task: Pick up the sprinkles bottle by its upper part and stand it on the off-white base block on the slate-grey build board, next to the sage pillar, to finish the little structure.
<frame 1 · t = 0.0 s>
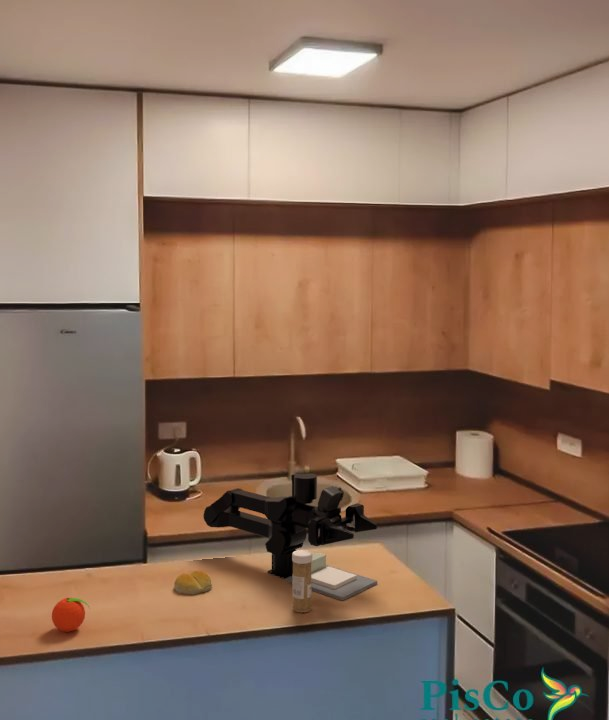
hand: (365, 531, 189), 17 cm above the counter, tool horizontal, fingers open, 9 cm apart
clementine: (71, 630, 174), on the counter
sprinkles bottle: (301, 610, 185), on the counter
build board: (331, 582, 201), on the counter
bread roll: (193, 589, 197), on the counter
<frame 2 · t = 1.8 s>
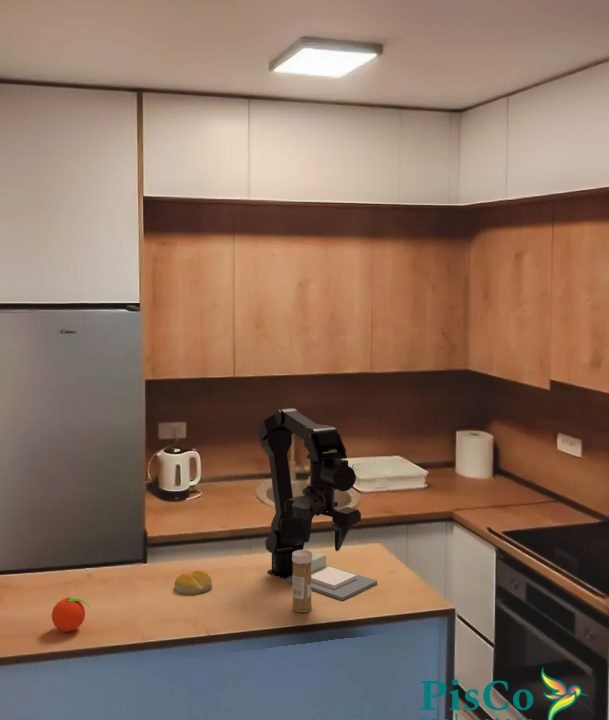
hand: (321, 546, 189), 13 cm above the counter, tool pointing down, fingers open, 9 cm apart
nothing on the counter moved.
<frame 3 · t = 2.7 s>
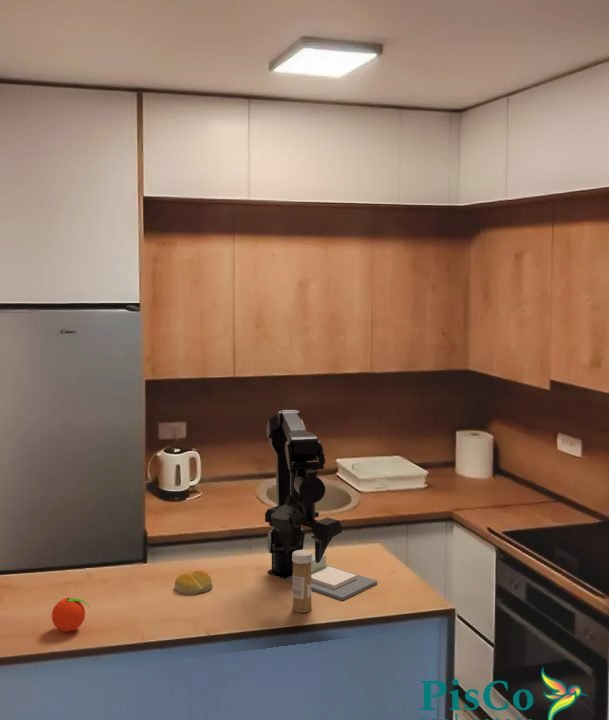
hand: (302, 557, 184), 12 cm above the counter, tool pointing down, fingers open, 9 cm apart
nothing on the counter moved.
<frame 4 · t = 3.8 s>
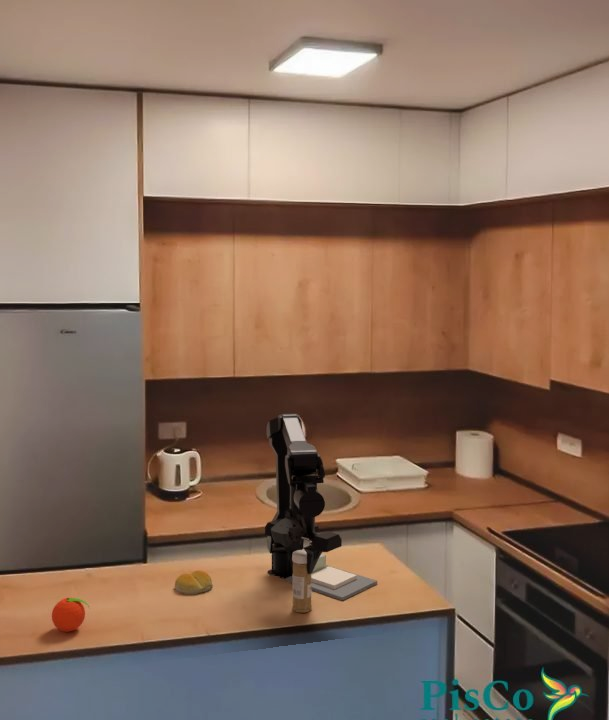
hand: (302, 571, 184), 9 cm above the counter, tool pointing down, fingers closed on sprinkles bottle, 4 cm apart
sprinkles bottle: (301, 610, 185), on the counter, touching gripper
everything else where it was.
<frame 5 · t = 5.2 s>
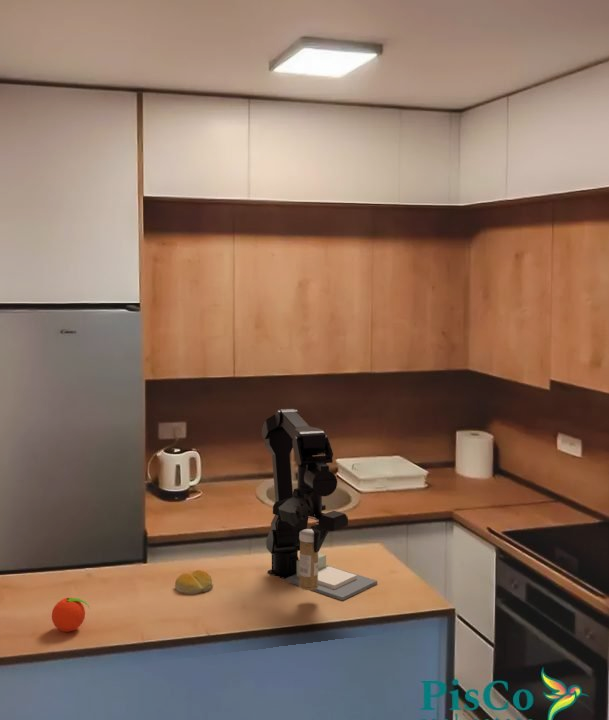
hand: (309, 549, 188), 13 cm above the counter, tool pointing down, fingers closed on sprinkles bottle, 4 cm apart
sprinkles bottle: (308, 587, 189), point 3 cm above the counter, touching gripper
everything else where it was.
when the fingers open (12 cm above the counter, at t = 6.8 s): sprinkles bottle stays where it is, resting on build board.
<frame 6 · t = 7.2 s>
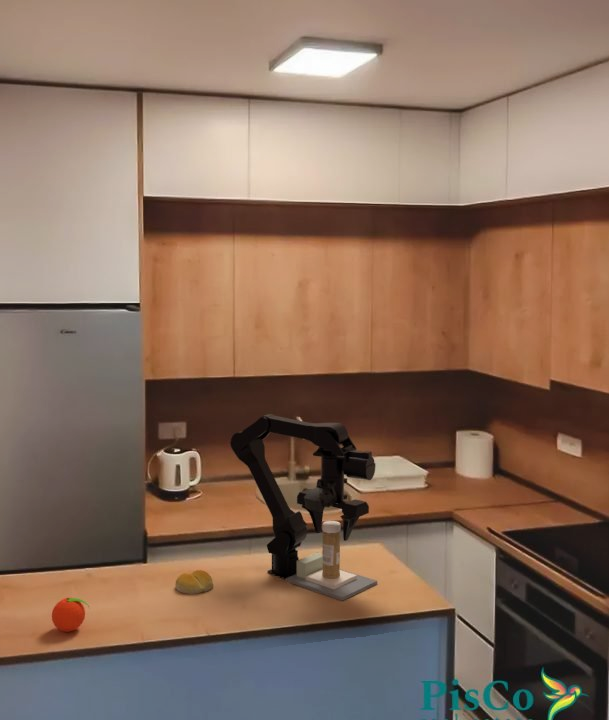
hand: (331, 536, 200), 12 cm above the counter, tool pointing down, fingers open, 8 cm apart
sprinkles bottle: (330, 576, 201), point 2 cm above the counter, touching build board
everything else where it was.
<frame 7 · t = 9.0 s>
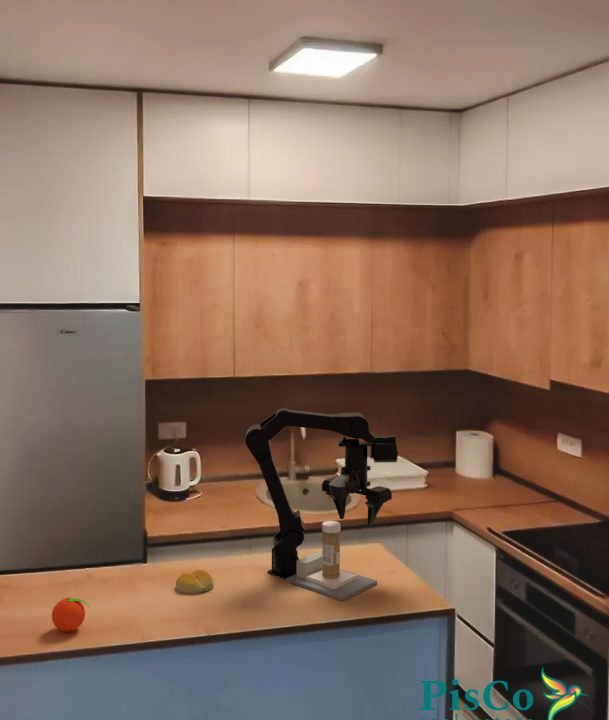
hand: (355, 522, 207), 13 cm above the counter, tool pointing down, fingers open, 9 cm apart
nothing on the counter moved.
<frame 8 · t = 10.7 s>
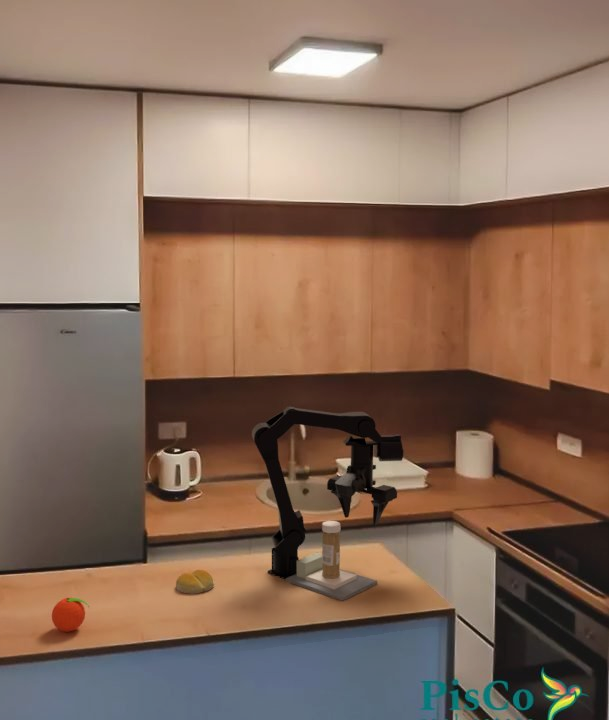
hand: (360, 520, 209), 13 cm above the counter, tool pointing down, fingers open, 9 cm apart
nothing on the counter moved.
at the end: sprinkles bottle 0.2 cm off-centre on the build board, point 1.6 cm above the build board's base; sprinkles bottle tilted 0°; the gripper is holding nothing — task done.
